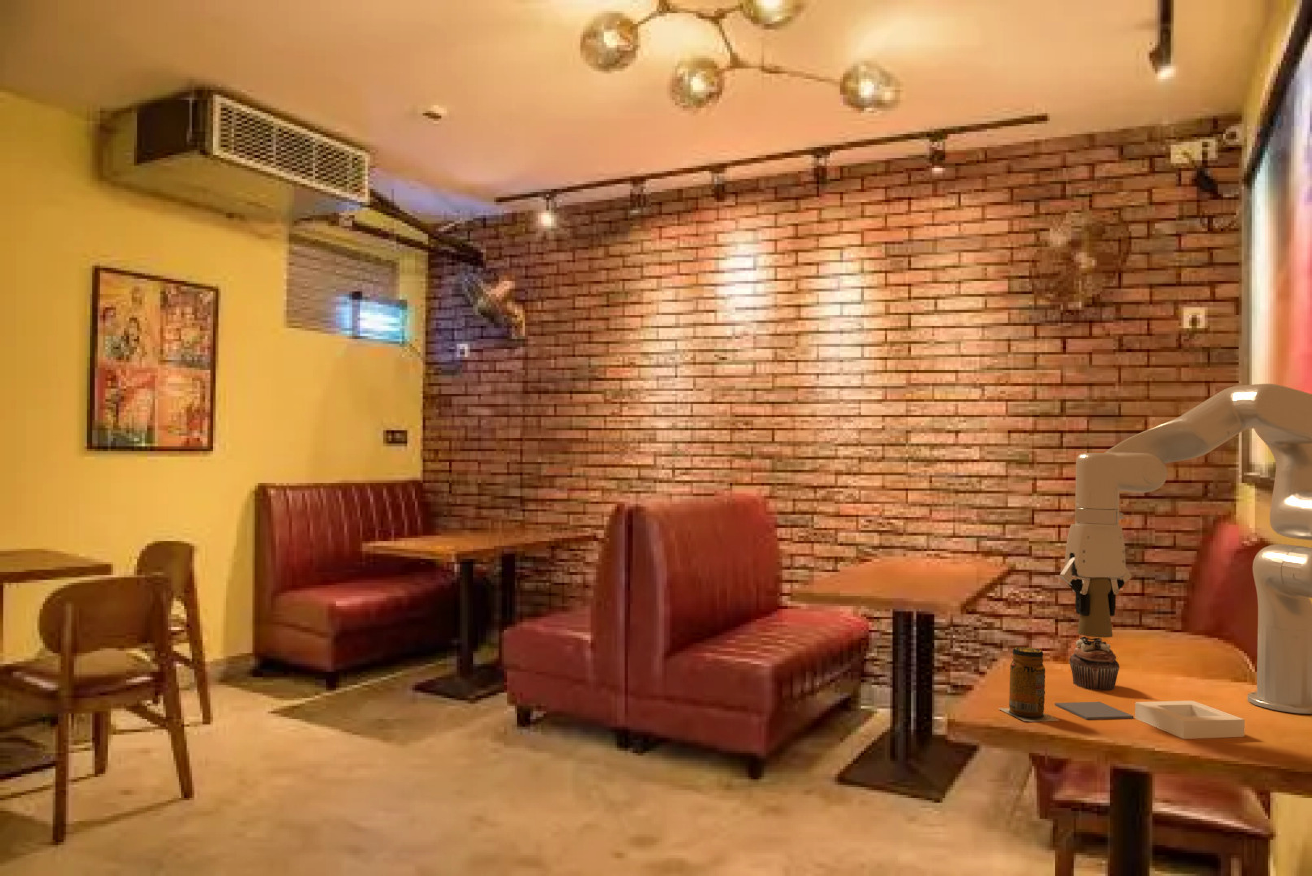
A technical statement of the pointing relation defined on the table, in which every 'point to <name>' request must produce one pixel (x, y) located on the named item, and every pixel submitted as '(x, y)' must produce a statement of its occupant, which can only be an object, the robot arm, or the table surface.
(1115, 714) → the coaster
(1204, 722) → the holder
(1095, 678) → the cupcake
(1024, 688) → the condiment
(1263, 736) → the table surface
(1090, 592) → the cork
